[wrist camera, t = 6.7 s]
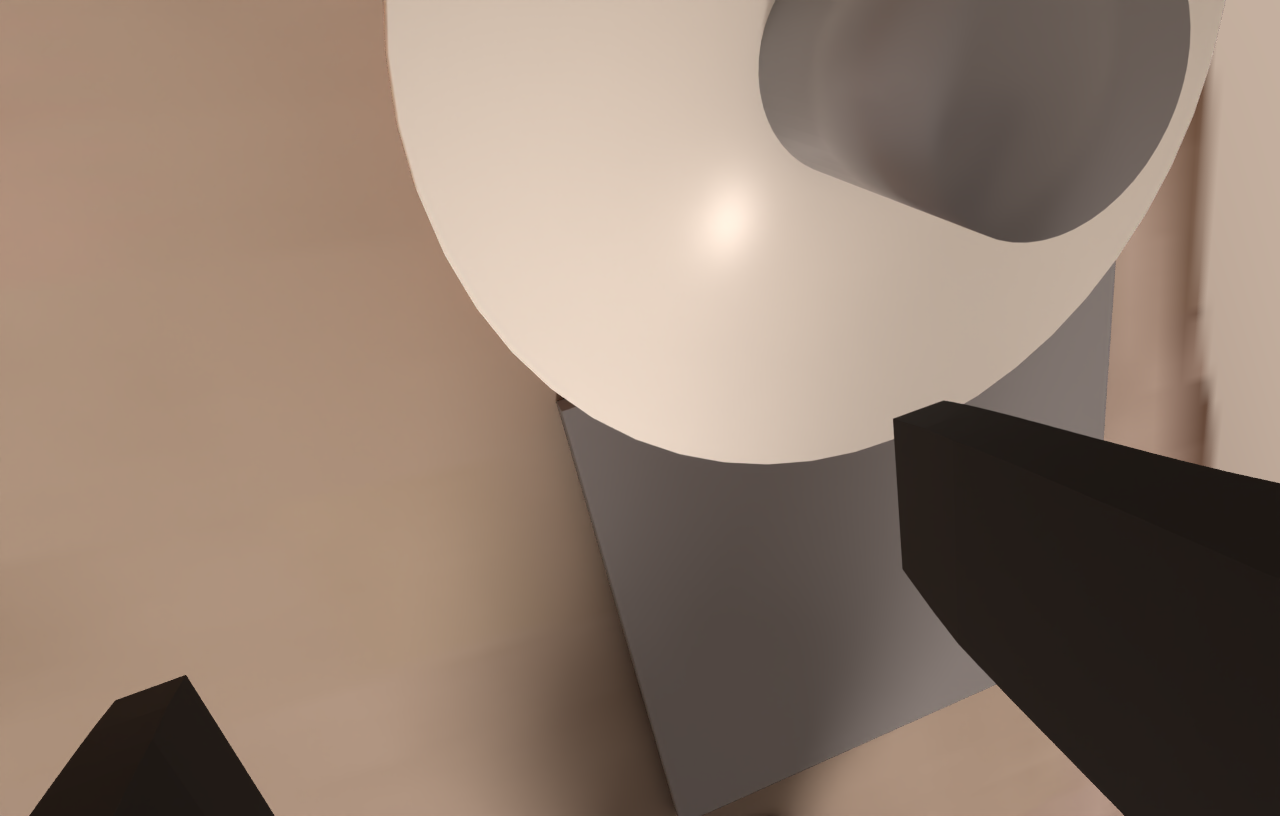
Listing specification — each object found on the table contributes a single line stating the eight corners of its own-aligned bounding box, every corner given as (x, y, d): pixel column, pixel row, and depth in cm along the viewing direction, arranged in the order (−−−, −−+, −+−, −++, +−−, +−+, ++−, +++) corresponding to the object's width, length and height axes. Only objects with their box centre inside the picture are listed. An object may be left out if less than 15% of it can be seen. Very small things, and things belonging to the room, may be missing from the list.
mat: (1078, 632, 28) (1089, 642, 28) (675, 810, 26) (681, 824, 25) (1102, 214, 21) (1118, 219, 21) (556, 401, 19) (561, 411, 18)
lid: (1158, 305, 16) (1412, 404, 12) (543, 545, 14) (623, 750, 10) (1231, -620, 10) (1762, -973, 6) (190, -439, 8) (78, -795, 4)
